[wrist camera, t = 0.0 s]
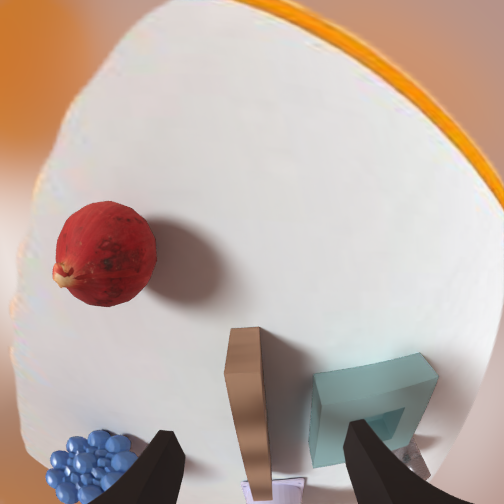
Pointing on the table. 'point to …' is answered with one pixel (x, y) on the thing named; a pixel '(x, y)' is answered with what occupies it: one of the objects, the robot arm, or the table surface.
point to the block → (369, 404)
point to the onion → (105, 254)
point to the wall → (249, 408)
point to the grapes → (89, 466)
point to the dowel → (413, 459)
